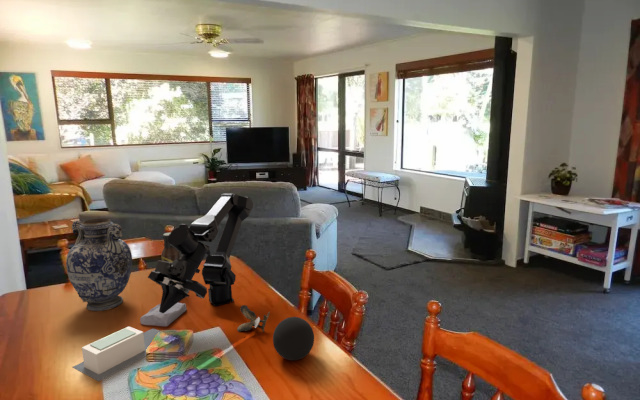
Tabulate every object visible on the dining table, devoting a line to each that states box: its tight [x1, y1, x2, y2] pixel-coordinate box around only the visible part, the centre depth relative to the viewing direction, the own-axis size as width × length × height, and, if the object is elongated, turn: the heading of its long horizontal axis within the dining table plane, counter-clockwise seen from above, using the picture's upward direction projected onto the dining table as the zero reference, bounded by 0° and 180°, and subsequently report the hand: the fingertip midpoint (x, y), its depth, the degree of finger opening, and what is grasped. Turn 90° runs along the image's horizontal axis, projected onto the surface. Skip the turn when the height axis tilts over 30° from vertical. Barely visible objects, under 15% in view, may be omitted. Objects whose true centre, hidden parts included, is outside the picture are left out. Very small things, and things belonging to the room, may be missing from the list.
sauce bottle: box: [160, 232, 181, 283], centre depth 146 cm, size 6×6×20 cm
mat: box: [72, 327, 161, 382], centre depth 103 cm, size 22×11×1 cm, turn 148°
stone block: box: [139, 302, 187, 327], centre depth 123 cm, size 12×5×10 cm
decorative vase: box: [65, 217, 133, 312], centre depth 132 cm, size 21×19×28 cm
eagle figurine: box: [236, 304, 271, 333], centre depth 114 cm, size 8×7×9 cm
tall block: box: [81, 326, 145, 374], centre depth 100 cm, size 5×6×12 cm
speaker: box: [272, 316, 315, 361], centre depth 100 cm, size 10×10×10 cm
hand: (161, 312), depth 111 cm, fingers closed
